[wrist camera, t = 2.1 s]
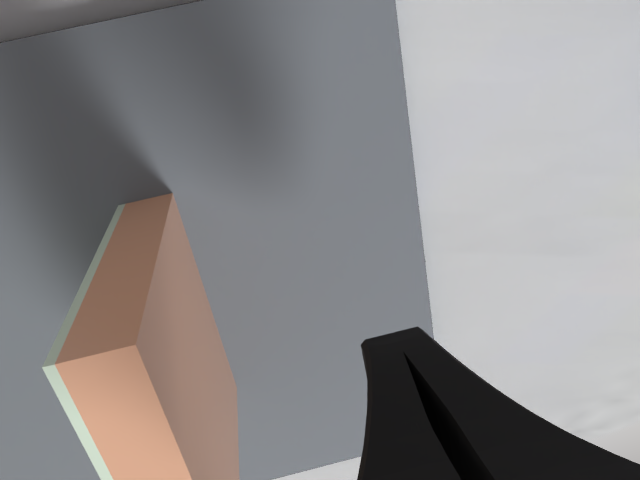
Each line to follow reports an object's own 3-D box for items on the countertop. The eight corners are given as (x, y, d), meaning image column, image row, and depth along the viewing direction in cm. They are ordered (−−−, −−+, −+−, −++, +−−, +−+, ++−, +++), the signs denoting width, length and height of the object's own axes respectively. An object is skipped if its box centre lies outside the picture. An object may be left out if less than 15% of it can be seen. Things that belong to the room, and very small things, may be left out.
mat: (386, -39, 14) (390, -40, 13) (441, 426, 21) (444, 434, 21) (-364, 119, 13) (-381, 123, 12) (-39, 551, 20) (-43, 561, 20)
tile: (172, 192, 15) (135, 344, 9) (237, 387, 18) (242, 601, 12) (118, 205, 15) (42, 367, 9) (192, 398, 18) (174, 620, 12)
